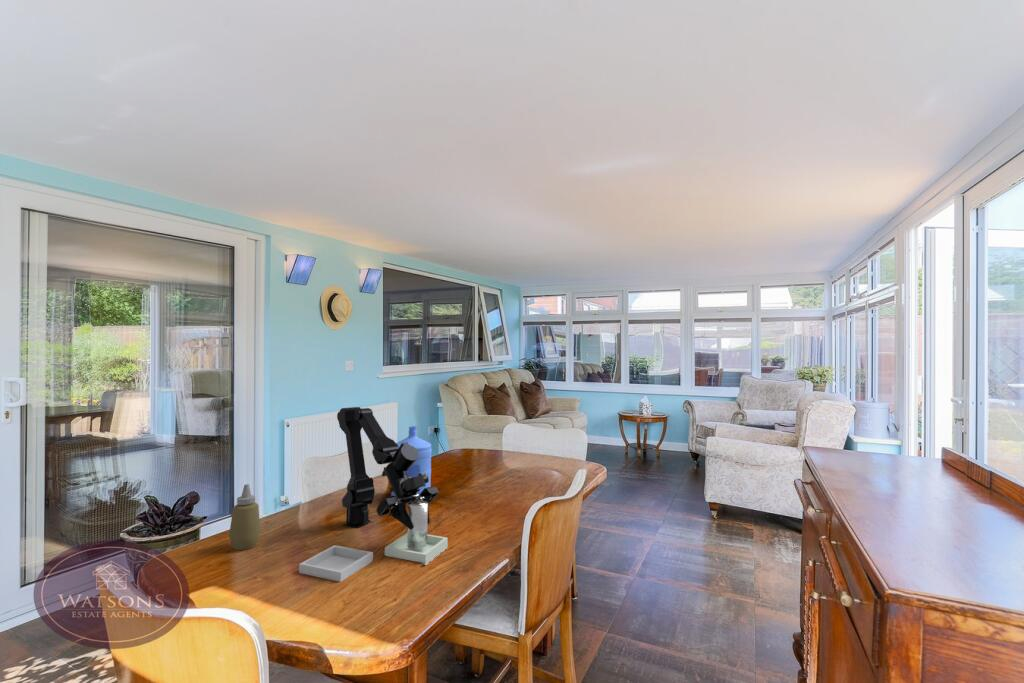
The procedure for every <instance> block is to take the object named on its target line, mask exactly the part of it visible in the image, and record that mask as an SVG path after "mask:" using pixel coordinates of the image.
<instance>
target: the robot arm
mask: <svg viewBox="0 0 1024 683" xmlns="http://www.w3.org/2000/svg"><path fill="white" fill-rule="evenodd" d="M336 418H337V421H338V424H339V428H340V430H341V431H342V432H343V433H344V435H345V441H346V448H347V456H348V464H349V471H350V473H349V474H350V478H349V480H348V483H347V485H346V491H347V492H346V493H345V495H344V496H343V498H342V499H341V503H342V504H341V505H342V507H343V508H345V509H346V515H345V516H346V520H345V522H343V523H342V525H343V526H348V527H353V528H361V527H363V526H364V525H366V524H368V522H369V523H370V522H371V519H370V518H369V515H370V514H369V513H370V512H369V511H370V510H369V509H368V508H369V505H372V504H373V501H374V497H375V493H376V491H375V485H374V479H373V477H369V475H368V474H367V471H366V470H367V469H366V464H365V457H364V448H363V441H362V435H361V434H362V433H361V431H362V429H363V431H364V433H365V434H366V436H367V438H368V440H369V441H370V444H371V446H372V451H371V452H372V453H371V454H372V456H373V458H374V460H375V463H376V464H377V465H386V464H387V465H386V466H384V467H383V471H382V473H381V476H382V477H383V478H384V477H386V478H387V480H388V482H389V484H390V489H389V491H390V493H392V492H394V494H395V496H391V495H390V496H385V497H383V498H382V500H381V501H380V502H379V504H378V505H377V507H376V512H377V515H378V516H379V517H383V516H386V515H388V517H393V518H394V519H395V520H397V521H398V522H400V523H401V524H402V525H404V526H405V527H406V528H407V529H408V528H409V529H410V530H412V529H413V525H412V522H411V520H410V518H409V516H408V511H407V506H406V505H408V503H409V502H411V501H415V500H423V501H427V502H428V523H427V526H428V525H429V524H430V523H431V522H430V521H431V520H430V509H429V508H430V507H429V504H430V503H432V502H433V501H434V499H436V497H437V496H438V495H439V493H440V492H439V490H438V488H437V487H436V486H435V485H432V486H430V487H428V488H424V490H423V491H422V492H421V493H420V494H416V493H417V492H418V491H419V490H420V489H419V488H420V487H422V486H426V485H425V483H428V482H429V479H428V476H427V474H426V472H424V473H420V474H418V476H416V477H412V476H410V477H409V476H408V474H407V472H406V471H408V470H409V469H410V468H411V467H412V465H413V464H414V463H415V461H416V460H417V459H418V457H419V452H418V450H417V449H416V448H415V447H413V446H411V445H409V444H408V442H404V443H401V445H400V447H399V446H398V445H397V444H396V443H397V442H396V441H395V440H394V439H393V438H389V437H388V436H387V435H386V434H385V432H384V430H383V428H382V426H380V424H379V422H378V421H377V419H376V417H375V416H374V412H373V410H372V408H369V407H366V408H363V407H362V408H361V407H360V406H353V407H342V408H340V410H339V411H338V412H337V414H336Z"/></svg>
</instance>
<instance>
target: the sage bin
mask: <svg viewBox="0 0 1024 683" xmlns="http://www.w3.org/2000/svg"><path fill="white" fill-rule="evenodd" d="M407 535H408V532H407V533H405V534H403V535H402V536H400V537H398V539H395V540H394V541H393V542H391V543H389V544H388V545H386V546H385V547H384V556H385V557H390V558H391V557H392V558H396V559H399V560H400V559H401V560H407V561H413V562H416V563H417V562H418V563H421V566H423V565H426V566H427V565H428V564H430V563H431V562H433V560H435V559H436V558H437V557H439V556H440V555H441V554H442V553H444V551H446V550H447V549H448V545H449V544H448V543H449V538H448V537H444V536H440V535H433V534H428V533H427V546H426V547H424V548H422V549H410V548H408V547H407ZM445 549H446V550H445ZM441 552H442V553H441ZM440 553H441V554H440ZM436 556H437V557H436ZM435 557H436V558H435ZM434 558H435V559H434ZM430 561H431V562H430ZM429 562H430V563H429Z"/></svg>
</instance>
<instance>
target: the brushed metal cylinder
mask: <svg viewBox="0 0 1024 683" xmlns="http://www.w3.org/2000/svg"><path fill="white" fill-rule="evenodd" d="M407 505H408V507H407V508H408V509H407V510H408V511H407V513H408V516H409V518H410V520H411V522H412V525H413V529H412V530H410V529H409V528H408V527H407V533H408V535H407V547H408V548H410V549H422V548H424V547H426V546H427V534H428V525H427V523H428V502H427V501H423V500H415V501H411V502H409V503H408V504H407Z"/></svg>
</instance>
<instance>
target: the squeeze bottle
mask: <svg viewBox="0 0 1024 683" xmlns="http://www.w3.org/2000/svg"><path fill="white" fill-rule="evenodd" d="M260 521H261V520H260V510H259V504H258V503H257V502H256V495H254V494H252V492H251V487H250V484H248V483H247V484H244V486H243V488H242V493H241V496H238V497H237V498H236V505H234V507H232V514H231V520H230V526H229V534H228V538H229V541H230V543H231V545H232V549H233V550H235V551H237V550H238V551H242V550H248V549H251V548H254V547H255V546H256V545H257V543H258V540H259V538H260V535H261V522H260Z"/></svg>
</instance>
